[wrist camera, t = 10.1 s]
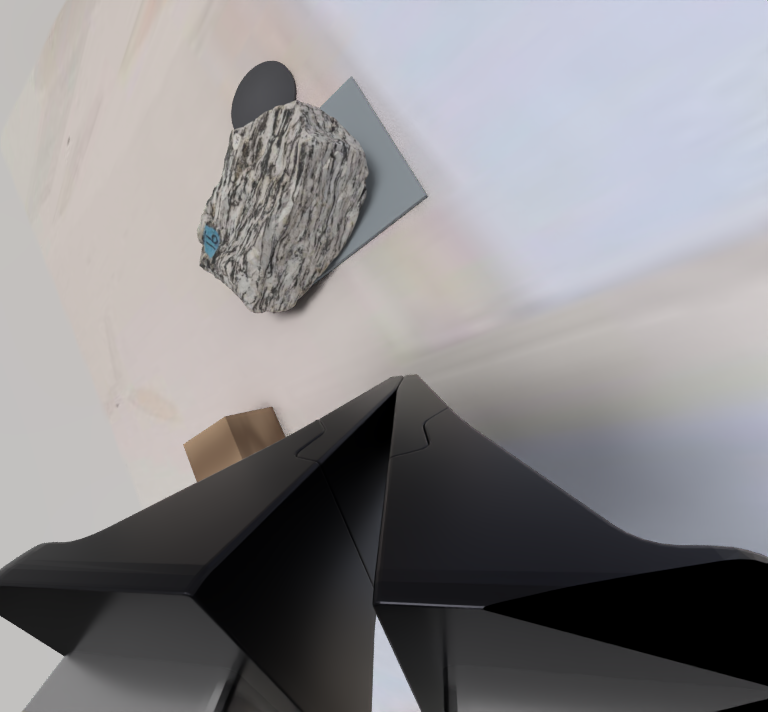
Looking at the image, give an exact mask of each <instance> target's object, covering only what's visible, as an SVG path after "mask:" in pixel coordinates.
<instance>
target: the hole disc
mask: <svg viewBox="0 0 768 712" xmlns="http://www.w3.org/2000/svg"><path fill="white" fill-rule="evenodd" d="M295 100H296V85H295V81H294V78H293V76H292V74H291V73H290V71H289V70H288V69H287V67H286V66H285V65H283V64H282V63H280V62H277V61H267V62H263V63H261V64H259V65H257V66H255V67H254V68H253V69H252V70H250V71H249V72H248V73H247V74H246V76H245V77H244V78H243V80H242V81H241V83H240V84H239V86H238V88H237V91H236V93H235V96H234V99H233V103H232V111H231V117H232V124H233V127H234V130H235V129H237V128H242V127H244V126H245V125H247V124H248V123H250V122H252V121H253V120H255V119H257V118H258V117H259V116H260V115H262V114H263V113H265V112H266V111H269V110H272V109H273V108H274V107H276V106H279V105H285V104H288V103H291V102H293V101H295Z"/></svg>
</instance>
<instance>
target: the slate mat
mask: <svg viewBox="0 0 768 712" xmlns="http://www.w3.org/2000/svg"><path fill="white" fill-rule="evenodd" d="M320 109H321V110H323V111H324V112H325V113H327V114H328V115H329V116H331V117H334V118H335V119H336V120H337V121H338V122H339V123H340V124H341V125H342V126H343V127H344V128H345V129H346V130H347V131H348V132H349V133H350V134H351V135H352V136H353V137H354V138H355V139H356V140H357V141H358V142H359V143H360V145H361V147H362V149H363V151H364V152H365V156H366V162H367V167H368V171H369V174H368V176H367V178H366V180H365V182H366V188H367V193H366V198H365V200H364V203H363V205H362V207H361V210H360V212H359V215H358V218H357V221H356V223H355V226H354V228H353V231H352V233H351V235H350V237H349V239H348V241H347V242H346V244H345V245H344V247H343V248H342V249H341V251H340V252H339V254H338V256H337V257H336V258H334V259H333V260H332V262H331V263H330V264H329V266H328V267H327V268H326V270H325V271H324V272H323V273H322V274H321V275H320V276H319V277H318V278H317V279H316V280H315V281H314V282H313V284H315V283H316V282H317V281H319V280H320V279H321V278H323V277H324V276H325V275H326V274H328V273H329V272H330V271H332V270H333V269H334V268H336V267H337V266H338V265H339V264H341V263H342V262H343V261H345V260H346V259H347V258H349V257H350V256H351V255H352V254H354V253H355V252H356V251H358V250H359V249H360V248H362V247H363V246H364V245H365V244H367V243H368V242H369V241H371V240H372V239H373V238H374V237H376V236H377V235H378V234H380V233H381V232H382V231H384V230H385V229H386V228H387V227H389V226H390V225H391V224H393V223H394V222H395V221H397V220H398V219H399V218H400V217H402V216H403V215H404V214H406V213H407V212H408V211H410V210H411V209H412V208H413V207H415V206H416V205H417V204H419V203H420V202H421V201H423V200H424V199H425V198H426V197H427V194H426V193H425V191H424V190H423V188H422V187H421V185H420V183H419V182H418V180H417V179H416V177H415V176H414V174H413V172H412V171H411V169H410V168H409V166H408V164H407V163H406V161H405V160H404V158H403V157H402V155H401V153H400V152H399V150H398V149H397V147H396V145H395V144H394V142H393V141H392V139H391V138H390V136H389V134H388V133H387V131H386V130H385V128H384V126H383V125H382V123H381V122H380V120H379V119H378V117H377V115H376V114H375V112H374V111H373V109H372V108H371V106H370V104H369V103H368V101H367V100H366V98H365V96H364V95H363V93H362V92H361V90H360V89H359V87H358V85H357V84H356V82H355V81H354V79H353V77H352V76H351V77H350V78H349V79H348V80H347V81H346V82H345V83H344V84H343V85H342V86H341V87H340V88H339V89H338V90H337V91H336V92H335V93H334V94H333V95H332V96H331V97H330V98H329V99H328V100H327V101H326V102H325V103H324V104H323V105H322V106H321V107H320ZM313 284H312V285H313Z"/></svg>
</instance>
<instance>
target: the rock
mask: <svg viewBox="0 0 768 712" xmlns="http://www.w3.org/2000/svg"><path fill="white" fill-rule="evenodd" d="M368 174H369V171H368V167H367V162H366V156H365V152H364V151H363V149H362V147H361V145H360V143H359V142H358V141H357V140H356V139H355V138H354V137H353V136H352V135H351V134H350V133H349V132H348V131H347V130H346V129H345V128H344V127H343V126H342V125H341V124H340V123H339V122H338V121H337V120H336V119H335V118H334V117H331V116H329V115H328V114H327V113H325V112H324V111H323V110H321V109H320V108H318V107H315V106H312V105H310V104H307V103H302V102H300V101H298V100H295V101H293V102H291V103H288V104H285V105H279V106H276V107H274V108H273V109H272V110H269V111H266V112H265V113H263V114H262V115H260V116H259V117H258V118H257V119H255V120H253V121H252V122H250V123H248V124H247V125H245V126H244V127H242V128H237V129H235V130H232V131H231V134H230V139H229V147H228V150H227V153H226V157H225V161H224V168H223V172H222V177H221V180H220V182H219V184H218V185H217V186H216V187H215V188H214V190H213V193H212V196H211V197H210V199H209V200H208V201H207V203H206V206H205V209H204V213H203V214H202V215H201V222H200V224H199V227H198V229H197V236H198V239H199V241H200V243H201V244H202V245H203V247H202V253H201V257H200V266H201V267H202V268H203V269H204V270H205V271H207V272H209V273H212V274H213V275H214V276H215V278H217V279H219V280H221V281H222V282H223V283H224V284H225V285H226V286H228V287H229V288H230V289H231V290H232V291H233V292H234V293H235V294H236V295H237V296H238V297H239V298H240V299H241V300H242V302H243V303H244V305H245V306H246V307H247V308H248V309H249V310H250V311H252V312H254V313H263V312H265V311H268V312H272V313H276V312H278V313H280V312H281V311H286V310H289V309H291V308H292V307H294V306H295V305H296V302H297V300H298V299H299V298H301V297H302V296H303V295H304V294H305V293H306V292H307V291H308V290H309V289H310V287H311V286H312V284H313V282H314V281H315V280H316V279H317V278H318V277H319V276H320V275H321V274H322V273H323V272H324V271H325V270H326V268H327V267H328V266H329V264H330V263H331V262H332V260H333V259H334V258H336V257H337V256H338V254H339V252H340V251H341V249H342V248H343V247H344V245H345V244H346V242H347V241H348V239H349V237H350V235H351V233H352V231H353V228H354V226H355V223H356V221H357V218H358V215H359V212H360V210H361V207H362V205H363V203H364V200H365V198H366V193H367V188H366V182H365V180H366V178H367V176H368Z"/></svg>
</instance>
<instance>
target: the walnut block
mask: <svg viewBox="0 0 768 712" xmlns="http://www.w3.org/2000/svg"><path fill="white" fill-rule="evenodd" d="M284 438H285V435H284V433H283V430H282V428H281V426H280V424H279V421H278V419H277V417H276V414H275V412H274V410H273V408H272V407H269V408H264V409H259V410H254V411H249V412H245V413H240V414H235V415H230V416H225V417H224V418H222V419H221V420H219V421H218V422H216V423H215V424H213V425H212V426H210V427H209V428H207V429H206V430H204V431H203V432H201V433H200V434H198V435H197V436H195V437H194V438H192V439H191V440H189V441H188V442H186V443H185V444H183V445H184V448H185V451H186V454H187V456H188V459H189V462H190V464H191V467H192V470H193V473H194V475H195V478H196V481H197V482H199V481H201V480H203V479H205V478H207V477H209V476H211V475H213V474H215V473H217V472H219V471H221V470H223V469H225V468H227V467H229V466H231V465H232V464H234V463H236V462H238V461H240V460H242V459H244V458H246V457H248V456H250V455H252V454H254V453H256V452H258V451H260V450H262V449H264V448H266V447H268V446H270V445H272V444H274V443H276V442H278V441H280V440H282V439H284Z"/></svg>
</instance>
